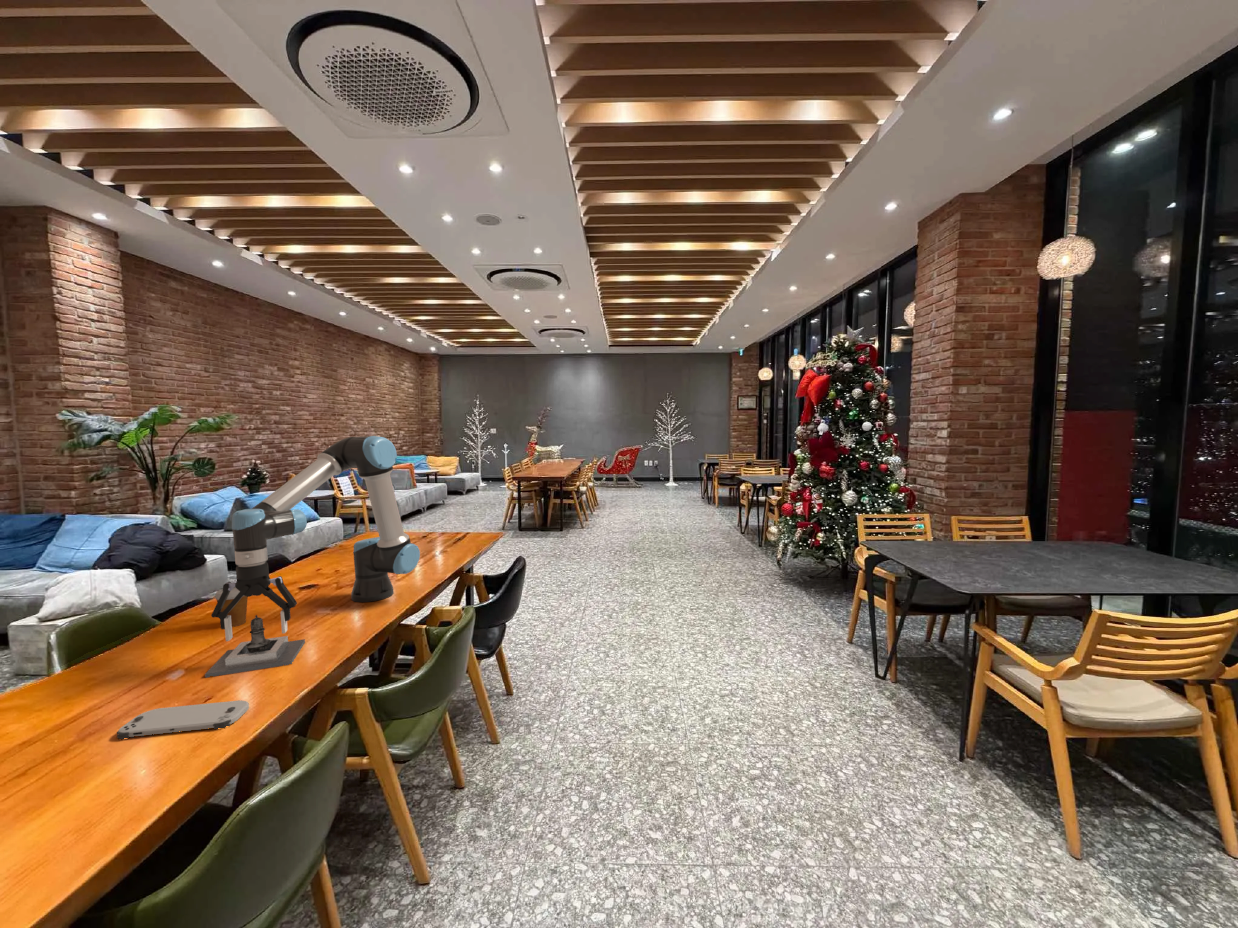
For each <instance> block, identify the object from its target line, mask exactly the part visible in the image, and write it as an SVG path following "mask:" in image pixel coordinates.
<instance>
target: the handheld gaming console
mask: <svg viewBox="0 0 1238 928" xmlns="http://www.w3.org/2000/svg"><path fill="white" fill-rule="evenodd" d="M249 703H250V702H248V701H247V700H241V699H240V700H231V701H221V702H210V703H209V702H208V703H201V704H200V703H198V704H189V705H180V706H179V705H178V706H169V707H159V708H154V709H150V710H148V711H147V710H146V711H145V712H142V713H140V714H138V715H137V716H135V717H134V718H132V719H131V720H129V721H128V722H127V723H126V724H124V725H123V726H121V727H120V728H118V730H117V732H116V734H117V735H116V738H119V739H124V738H129V737H131V738H135V737H134V736H141V737H145V736H144V735H150V736H155V735H154V734H160V735H164V734H163V733H169V734H173V733H172V732H179V731H180V732H179V733H182V732H181V731H189V732H192V731H191V730H198V731H202V730H201V729H208V728H214V729H213V730H215V729H218V728H224V727H226V726H229V727H230V726H231V725H233V724H235V723H236V722H237V721H238V720H239V719H240V718H241V717H242V716H243V715H244V714H245V713H247V711H248V710H249V708H250V705H249ZM235 721H236V722H235ZM234 722H235V723H234ZM232 723H233V724H232ZM230 724H231V725H230ZM224 729H225V728H224ZM208 730H209V729H208ZM152 734H153V735H152ZM119 739H118V740H119ZM129 739H130V738H129Z"/></svg>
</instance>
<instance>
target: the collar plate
mask: <svg viewBox="0 0 1238 928" xmlns="http://www.w3.org/2000/svg"><path fill="white" fill-rule="evenodd" d="M288 637H289V636H288V635H284V636H278V637H271V638H268V639H269V640H271V642H270V643H269V647H268V648H267V649H266V650H267V651H261V652H255V653H250V652H249V651H248V649H247V647H246V645H247V644H248V643H250V642H251V640H248V641H242V642H240V643H239V644H238V645H237V646H236V647H235V648H233V649H227V650H226V651H225V652H224V654H223V655H222V656H221V657H220V658H219V659H217V661H216V662H215V663H214V664H213V665H212V666H211V667H210V668H209V669H208V670H207V672H205V673H204V677H205V678H206V679H207V678H211V677H210V676H213V677H219V675H220V676H225V675H232V674H237V673H239V674H240V673H244V672H252V671H257V670H259V671H260V670H265V669H271V668H277V667H283V665H284V666H289V664H291V665H292V664H293V663H294V661H295V660H296V658H297V656H298V654H299V653H300V651H302V649H303V646H304V645H305V643H306V639H296V640H291V641H289V638H288ZM294 659H295V660H294ZM292 662H293V663H292Z"/></svg>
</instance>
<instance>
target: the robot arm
mask: <svg viewBox="0 0 1238 928" xmlns="http://www.w3.org/2000/svg"><path fill="white" fill-rule="evenodd" d="M397 457H398V455H397V448H396V447H395V445H394V444H393V442H392V441H391V440H389V439H388V438H386V437H384V436H377V435H370V436H369V435H367V436H349V437H346V438H342V439H340V440H339V441H337V442H334V443H333V444H331V445H330V446H329V447H328V448H326V449H324V450H323V451H322V452H321V453H318V455H317V457H316V460H315V461H313V462H312V463H310V464H309V465H308V466H307V467H305V468H304V469H302V470H301V471H300V472H298V474H296V475H294V476H293V477H292V478H291V479H289V480H288V481H287V482H285V483H284V484H283V485H282V486H280V487H279V488H278V489H276V490H275V491H273V492H272V493H270V495H268V496H267V497H266V498H264V499H262V501H260V502H259V503H257V504H256V505H254V507H252V508H245V509H242V510H241V509H240V510H237V511H235V512H234V513H232V515H231V516H232V517H231V518H232V520H231V530H232V535H233V536H232V537H233V547H234V550H233V551H234V560H235V561H234V562H235V565H236V567H235V572H236V574H235V575H236V582H231V581H227V582H225V583H224V584H223V585H222V589H223V592H222V594H221V596H220V598H219V600H218V602H217V601H216V605H215V607H214V608H213V611H212V613H211V617H212V618H218V619H219V622H220V623H219V624H220V629H221V630H224V634H225V635H224V636H225V642H230V641H231V640H232V638H234V636H233V627H232V623H231V615H229V616H227V615H228V613H229V612H230V611H231V610H232V609H233V607H234V606H235V605H236V604H237V603H238V602H239V600H240V599H241V598H242V597H243V596H247V597H248V598H249V597H253V596H254V597H255V596H256V597H258V596H261V595H263V596H264V597H267V598H268V599H269V600H270V601H272V602H273V603H274V604H275V605H277V607H279V608H281V609H282V610H280V622H281V623H280V624H281V634H286V633H287V631H288V622H289V621H290V620H291V616H292V615H291V609H293V608H295V607H296V606H297V604H298V601H297V600H296V599H295V597H294V596H293V594H292V593H291V592H290V590H289V589H288V588H287V586H286V585H285V583H284V580H283V576H281V575H280V576H279V575H278V577H273V578H271V577H270V573H269V562H267V561H268V559H269V557H268V548H267V547H268V546H267V544H268V542H267V540H272V539H277V538H281V537H286V536H291V535H292V536H294V535H296V534H299V533H302V532H304V531H305V529H306V528H307V525H308V524H307V523H308V522H307V520H308V518H307V515H306V514H305V512H304V511H302V510H301V509H299V508H297V509H294V508H295V506H296V505H298V504H299V503H300V502H302V501H303V500H304V499H306V497H307V498H308V496H309V495H311V494H312V493H313V492H315V491H316V490H317V489H318V488H320V487H321V486H322V485H323V484H324V483H325V482H327V481H328V480H330V479H331V478H332V477H333V476H339V475H340V474H342V473H343V472H345V471H348V470H350V469H356V471H357V473H358V477H359V478H361V479H363V480H364V482H365V485H366V486H365V487H366V489H367V494H368V497H369V501H370V505H371V509H372V514H373V517H374V521H375V524H376V525H375V526H376V529H377V533H378V536H377V537H371V538H365V539H362V540H358V541H356V542H355V543H354V544H353V563H354V564H353V565H354V576H355V579H354V583H353V586H352V589H351V593H350V594H351V596H350V598H351V599H350V600H351V601H353V602H355V603H356V602H357V603H369V602H376V601H381V600H385V599H388V598H390V597H392V595H394V592H395V591H394V586H393V584H392V581H391V579H390V577H389V574H395V575H407V574H409V573H411V572H413V571H414V569H416V567H417V565H418V563H419V561H420V557H421V556H420V555H421V552H420V549H419V547H418V546H419V545H416V544H415V543H412V542H411V538H410V535H409V534H408V533H405V531H404V526H403V523H402V519H401V516H400V511H399V506H398V503H397V499H396V495H395V494H396V493H395V491H394V487H393V481H392V478H391V473H392V472H393V471H394V467H393V466H395V464H396V459H397ZM271 584H273V585H274V586H275V587H276V588H277V590H278V591H279V593H280V594H281V596H282V597H283V598H284V599H283V598H282V597H281V596H280V595H278V594H277V593H276V592H275V591H274V590H273V589H272V588H271V587H270V585H271ZM234 587H236V588H237V589H238V590H239V591H240V592H239V593H238V595H237V596H236V597H235V598H234V599H233V601H232V602H231V603H230V604H229V605H228V606H227V608H226V609H225V610H224V611H223V612H220V611H221V609H222V607H223V605H224V603H225V601H226V599H227V597H228V595H229V593H230V591H231V590H232V589H233V588H234Z"/></svg>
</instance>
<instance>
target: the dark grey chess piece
mask: <svg viewBox="0 0 1238 928" xmlns="http://www.w3.org/2000/svg"><path fill="white" fill-rule="evenodd" d="M265 630H266V628H265V627H264V620H263V618H262V617H258V615H257V614H255V616H254V618H252V619H251V621H250V631H249V633H250V635H251V640H250V641H251V642H250V643H248V644H247V645H246V647H247V649H248V651H249V652H250V653H255V652H261V651H267V650H266V649H267V648H268V647H269V643H270V642H271V640H269V638H265Z"/></svg>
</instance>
